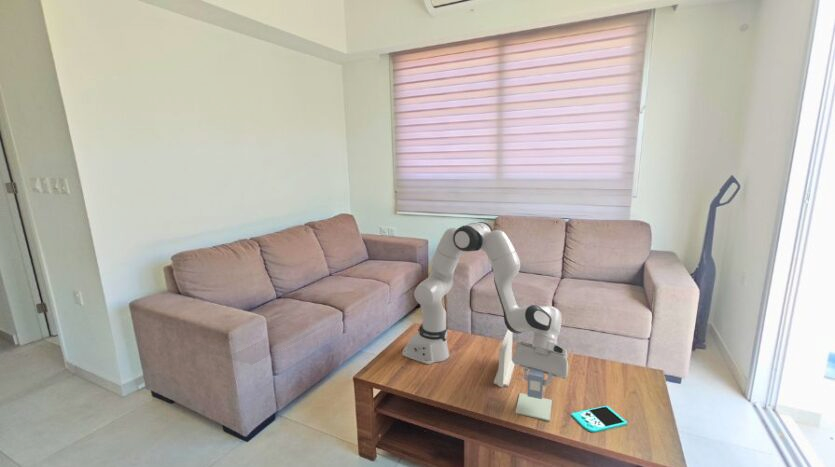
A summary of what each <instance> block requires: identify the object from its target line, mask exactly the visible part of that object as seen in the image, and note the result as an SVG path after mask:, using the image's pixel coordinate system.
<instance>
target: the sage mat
mask: <svg viewBox="0 0 835 467" xmlns="http://www.w3.org/2000/svg"><path fill="white" fill-rule="evenodd" d="M552 402H553V400H552V399H549V398H544V397H542V399H538V398H533V397H529V396H528V393H527V394H526V393H521V392H519V395H518V399H517V404H516V407H515V414H517V415H521V416H525V417H526V416H527V417H530V418H534V419H538V420H542V421H546V422H550V421H551V412H552V411H551V410H552V405H553V404H552Z"/></svg>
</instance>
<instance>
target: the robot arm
mask: <svg viewBox="0 0 835 467" xmlns="http://www.w3.org/2000/svg"><path fill="white" fill-rule="evenodd" d="M479 250H482V251H483V252H485V254H486V256H487V258H488V260H489V262H490V265H491V268H492V271H493V282H494V283H493V284H494V287H495V290H496V293H497V296H498V299H499V303H500V305H501V308H502V312H503V320H504V324H505V327H506V328H507V330H508V329H509V330H510V331H511V332H513V334H522V333H525V332H526V333H527V332H533V334H534V335H533V337H532V338H533V339H532V342H531V343H527V342H524V341H520V342H517V343H516V344H515V348H514V353H513V354H512V361H513V363H514V364H515V366H517V367H521V368H522V370H523V374H524V376H523V380H524V381H527V382H528V373H527V372H529V370H530V368H534V369H537V370H541V371H544V375H547V378H546V379H543V387H546V388H547V387H548V385H549V383H550V382H551V381H552V380H553V378H554V377H556V378H559V379H563V380H565V379H567V378H568V376H569V375H568V374H569V362H568V360H567V359H568V355H569V354H568V352H567V350H566V349H565V348H563V347H561V345H559V344H558V337H559V335H560V332H561V328H562V326H561V325H562V321H563V320H562V318H563V317H562V313H561V311H560V309H558V308H556V307H555V306H552V305H544V306H542V305H541V306H540V305H537V304H529V305H524V306H521V307H520V306H519V305H518V304H517V301H516V297H515V295H514V293H513V288H512V284H513V280H514V279H515V278H516V276H517V275H518V274H519V272H520V269H521V259H520V258H519V255H518V253H517V251H516V248H515V247H514V245H513V243H512V241H511V239H510V238H509V237H508V235H507V234H506V233H505V231H503V230H501V229H496V230H494V229H493V226H492V225H490V224H489V223H487V222H484V221H478V222H470V223H468V224H465V225H462V226H460V227H458V228H455V227H450V228H447V229H446V230H445V231H444V232H443V235H441V238H440V240H439V242H438V244H437V246H436V249H435V252H434V255H433V256H432V260H431V263H430V264H431V272H430V274H429V276H428V277H427V278H426V279H424V280H423V281H421V282H419V284H418V285H417V286H416V288H415V289H414V292H413V295H414V299H415V301H416V302H417V303H418V304H419V305H420V308H421V312H422V322H421V324H420V326H419V327H418V328H417V333H415V334H413V335H412V336H411V337H410V338H409V340H408V342H407V344H406V345H405V347H404V348H403V350H402V356H403V357H406V358H408V359H412V360H414V361H417V362H419V363H423V364H424V365H425V364H426V365H431V364H434V363H440V362H444V361H446V360H447V359H448V358H449V357H450V351H449V347H448V340H447V339H448V326H447V312H446V309H445V308H444V307H443V302H442V301H443V298H444V296H446V295H447V294H448V293H449V292H450V291H451V289H452V288H453V284H454V280H453V279H454V274H455V270H456V268H457V266H458V263H459V260H460V258H461V256H462V254H463V252H478V251H479Z"/></svg>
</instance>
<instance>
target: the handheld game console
mask: <svg viewBox="0 0 835 467" xmlns="http://www.w3.org/2000/svg"><path fill="white" fill-rule="evenodd" d="M571 417H572V418H574V420H575V421H576V422H577V423H578V424H580V426H581V427H582V428H584V429H585V430H586V431H588V432H589V433H597V432H603V431H606V430H610V429H615V428H619V427H623V426H627V425H628V421H627V420H625V419H624V418H623V417H622V416H620V414H618V413H616V411H615V410H613V409H612V408H611V407H610V406H609V405H604V406H599V407H594V408H591V409H590V408H589V409H586V410H581V411H577V412H576V411H575V412H572V413H571Z"/></svg>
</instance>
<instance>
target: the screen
mask: <svg viewBox="0 0 835 467" xmlns="http://www.w3.org/2000/svg"><path fill="white" fill-rule="evenodd" d="M513 335H514V333H513V332H511V331H510V330H509V329H508V328H507V331H506V333H505V336H504V338H503V341H502V343H501V345H500V348H499V350H498V351H499V353H498V354H499V355H498V369H497V371H496V375H495V378H494V380H493V384H494V385H497V386H498V387H499V388H500V387H501V388H504V387H507V388H509V386H510V384H511V379H512V376H513V372H514V369H515V366H516V365H515V364H514V363H513V361H512V358H513Z"/></svg>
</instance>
